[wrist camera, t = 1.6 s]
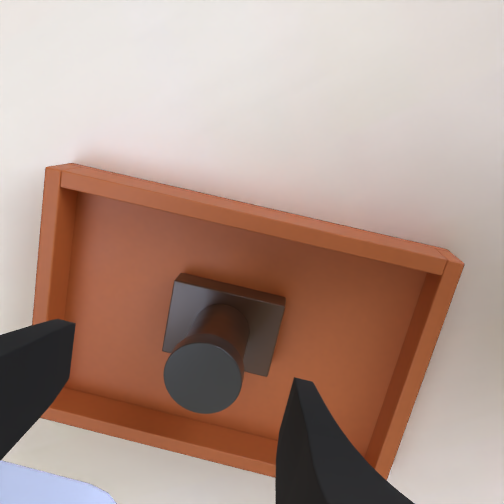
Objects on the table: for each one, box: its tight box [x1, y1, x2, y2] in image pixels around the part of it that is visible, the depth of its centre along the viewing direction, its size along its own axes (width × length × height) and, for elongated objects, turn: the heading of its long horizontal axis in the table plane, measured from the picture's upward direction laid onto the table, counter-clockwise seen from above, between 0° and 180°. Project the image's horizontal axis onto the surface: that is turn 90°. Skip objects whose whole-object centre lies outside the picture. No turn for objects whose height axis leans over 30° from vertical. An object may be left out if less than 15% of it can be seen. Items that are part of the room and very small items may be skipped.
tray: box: [32, 163, 464, 481], centre depth 24 cm, size 20×14×2 cm
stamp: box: [162, 273, 286, 414], centre depth 21 cm, size 6×4×6 cm
